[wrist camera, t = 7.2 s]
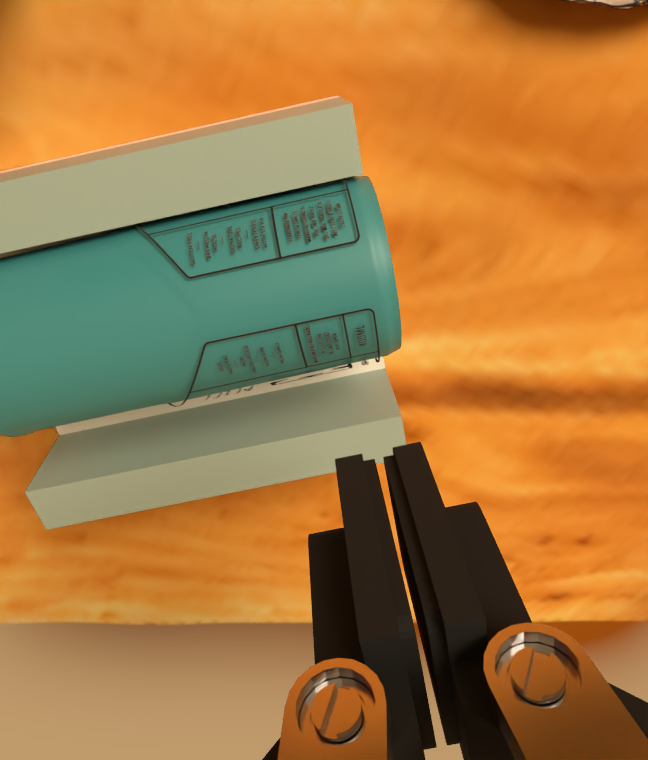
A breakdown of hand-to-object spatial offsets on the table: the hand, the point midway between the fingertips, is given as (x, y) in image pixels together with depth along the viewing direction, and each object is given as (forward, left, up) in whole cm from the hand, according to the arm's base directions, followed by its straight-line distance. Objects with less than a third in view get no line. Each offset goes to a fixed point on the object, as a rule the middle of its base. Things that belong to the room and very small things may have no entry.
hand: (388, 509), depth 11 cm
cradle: (+6, 0, -15) cm, 16 cm away
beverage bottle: (-3, -1, -11) cm, 11 cm away
